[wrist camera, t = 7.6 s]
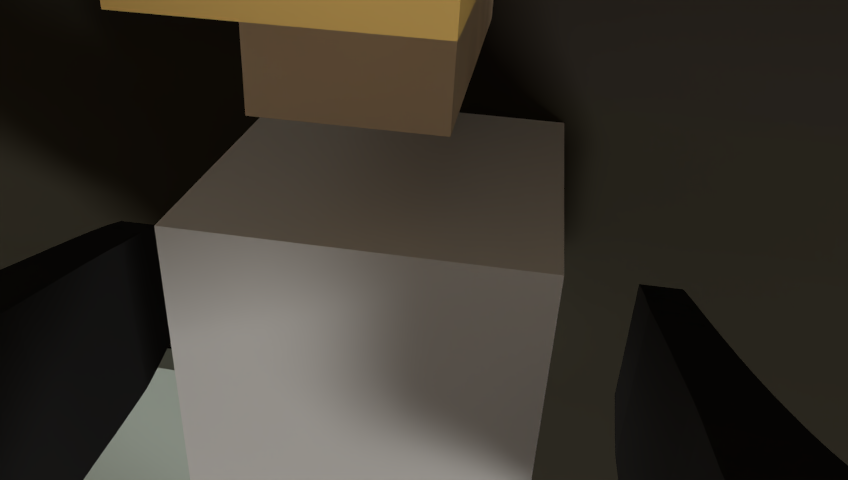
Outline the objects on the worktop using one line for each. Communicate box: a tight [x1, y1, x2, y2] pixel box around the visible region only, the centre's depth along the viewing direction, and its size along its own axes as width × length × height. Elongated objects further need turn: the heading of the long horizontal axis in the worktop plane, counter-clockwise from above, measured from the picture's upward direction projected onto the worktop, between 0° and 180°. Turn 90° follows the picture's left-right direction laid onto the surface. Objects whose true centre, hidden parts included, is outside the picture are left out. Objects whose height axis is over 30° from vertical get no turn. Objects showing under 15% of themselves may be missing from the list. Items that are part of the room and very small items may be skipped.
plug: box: [154, 112, 564, 480], centre depth 12 cm, size 7×4×5 cm, turn 177°
